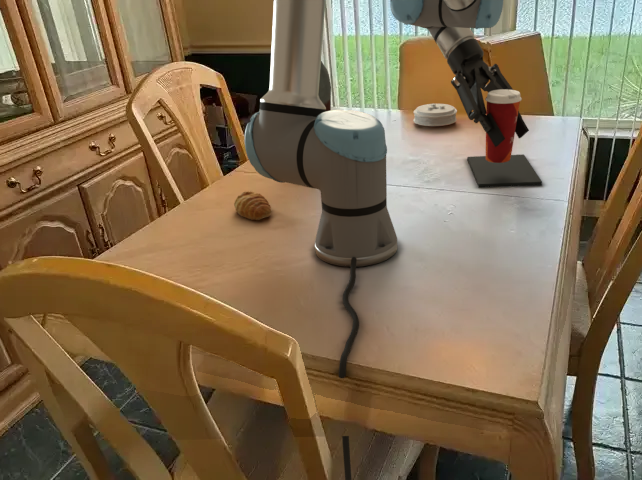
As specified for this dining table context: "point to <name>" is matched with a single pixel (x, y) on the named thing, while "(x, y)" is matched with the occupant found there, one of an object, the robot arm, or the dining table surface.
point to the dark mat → (503, 172)
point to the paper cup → (502, 122)
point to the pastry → (252, 206)
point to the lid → (435, 115)
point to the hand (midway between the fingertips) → (512, 138)
